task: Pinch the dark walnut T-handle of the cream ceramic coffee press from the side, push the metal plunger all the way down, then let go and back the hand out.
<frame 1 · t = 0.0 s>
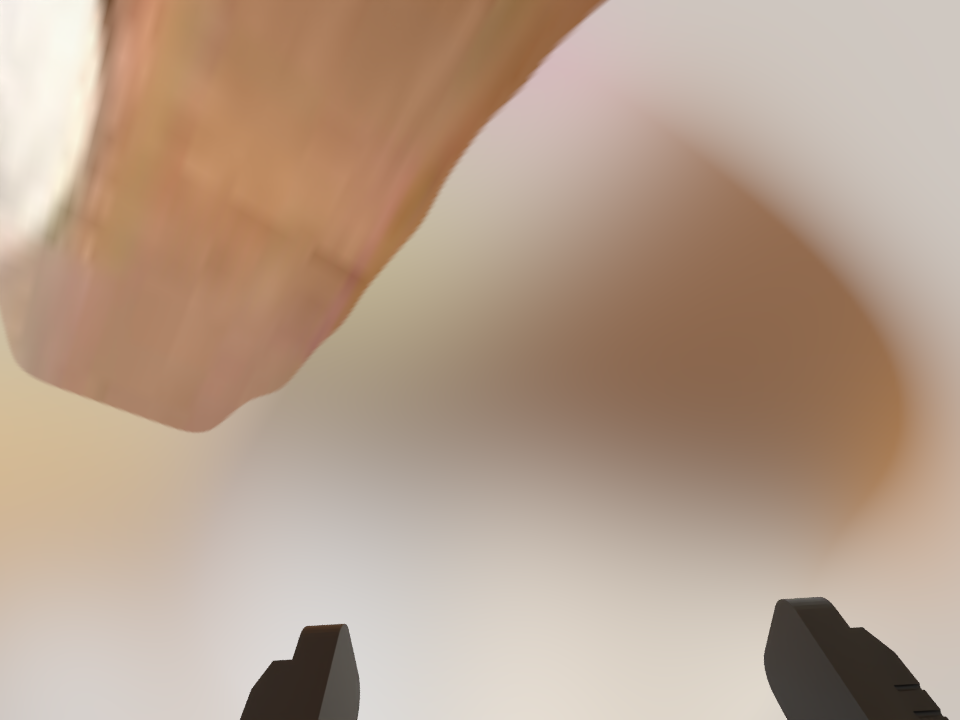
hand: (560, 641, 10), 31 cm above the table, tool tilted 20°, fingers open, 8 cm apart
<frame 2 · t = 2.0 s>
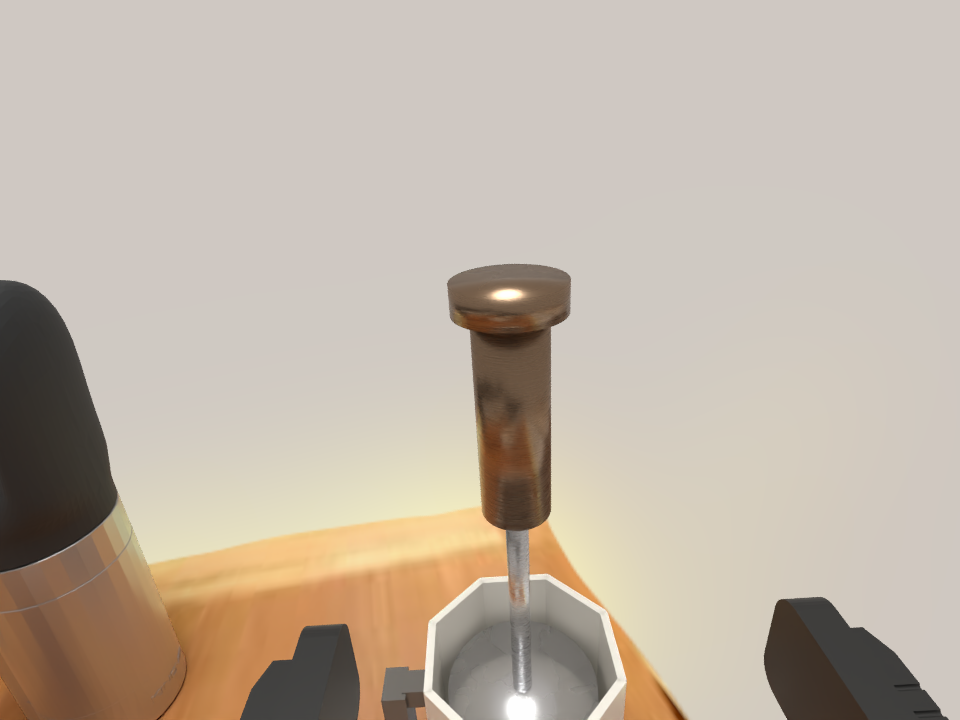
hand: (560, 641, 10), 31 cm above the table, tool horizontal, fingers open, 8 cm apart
plunger: (517, 526, 24), point 23 cm above the table, slide at 0.0 cm
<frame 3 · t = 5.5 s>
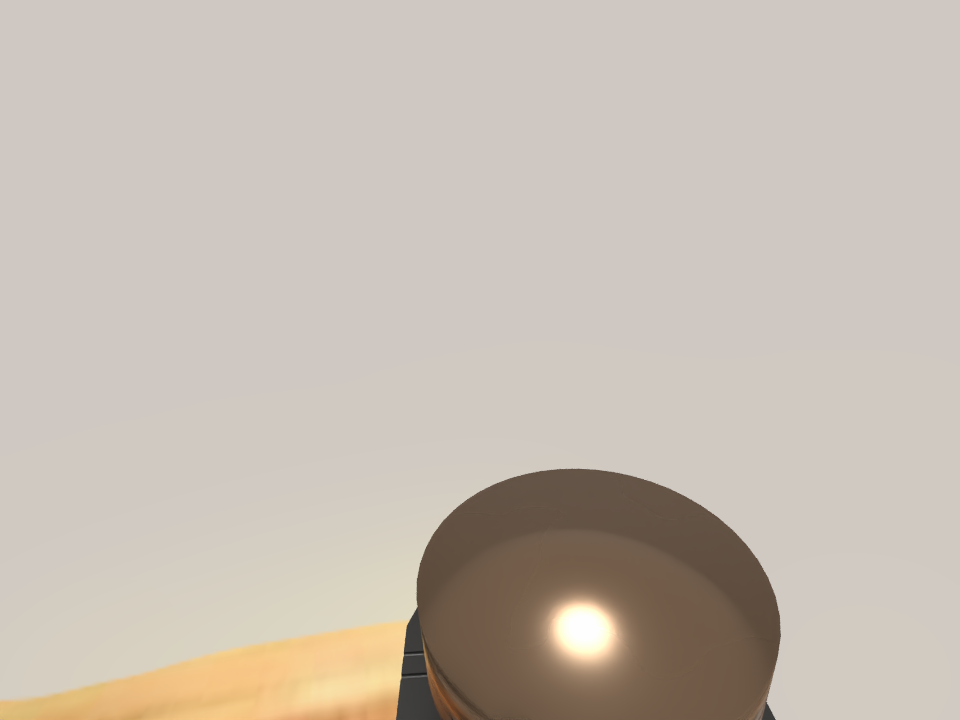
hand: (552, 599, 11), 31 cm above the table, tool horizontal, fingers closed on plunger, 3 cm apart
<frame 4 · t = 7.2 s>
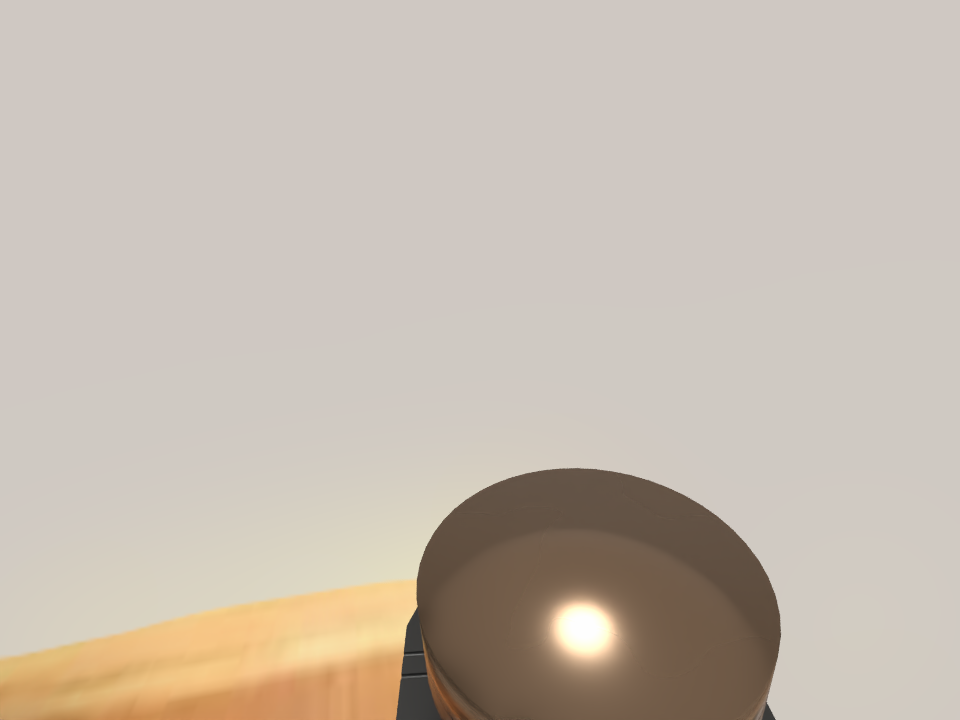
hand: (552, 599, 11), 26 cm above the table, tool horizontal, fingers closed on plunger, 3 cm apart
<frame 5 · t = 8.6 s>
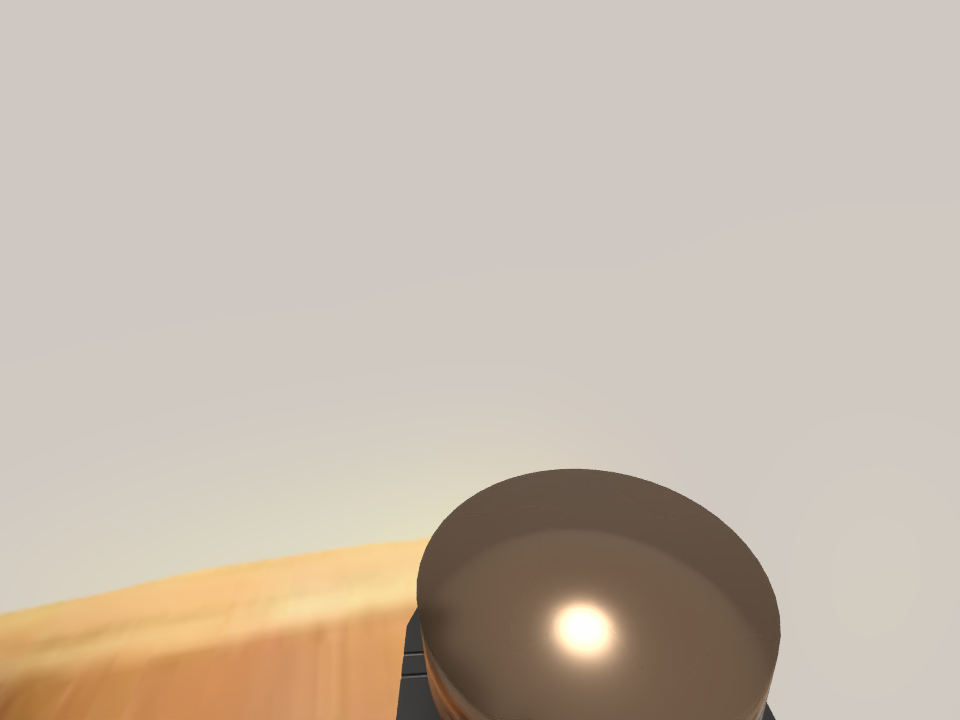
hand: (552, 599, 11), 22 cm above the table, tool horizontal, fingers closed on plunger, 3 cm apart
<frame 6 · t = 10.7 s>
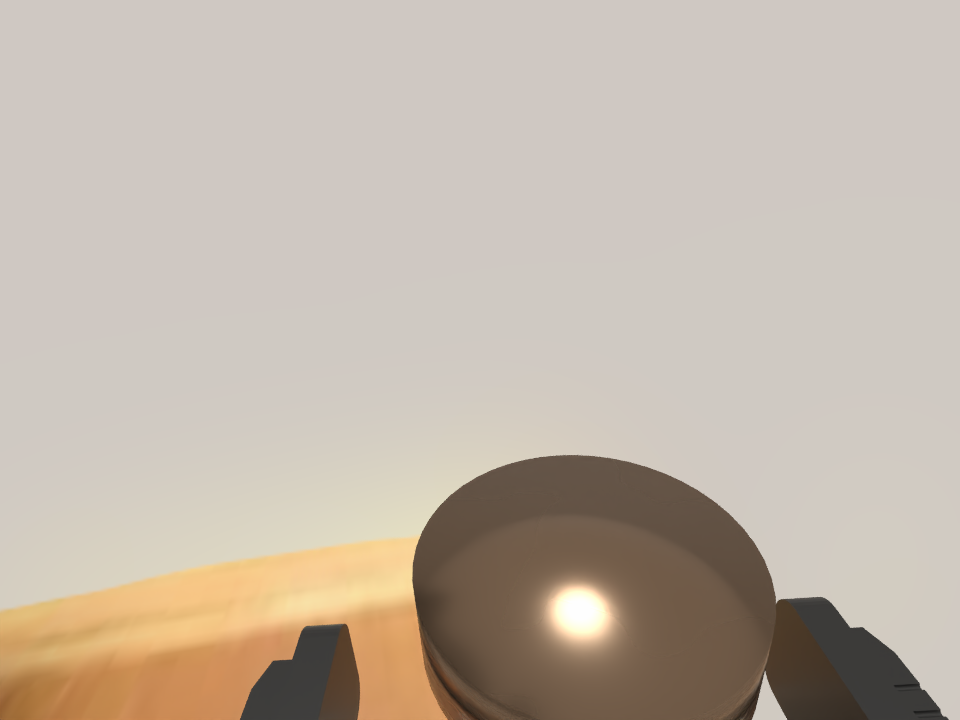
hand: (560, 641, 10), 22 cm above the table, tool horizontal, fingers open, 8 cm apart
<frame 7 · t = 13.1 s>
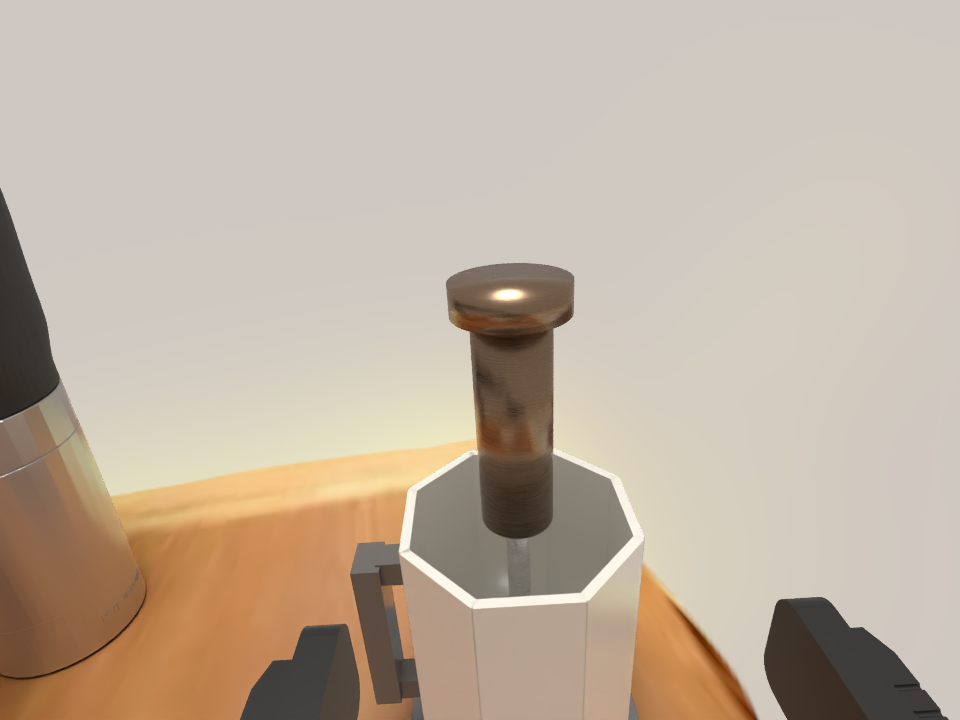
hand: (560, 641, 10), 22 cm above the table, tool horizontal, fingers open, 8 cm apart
plunger: (518, 533, 23), point 14 cm above the table, slide at 9.1 cm
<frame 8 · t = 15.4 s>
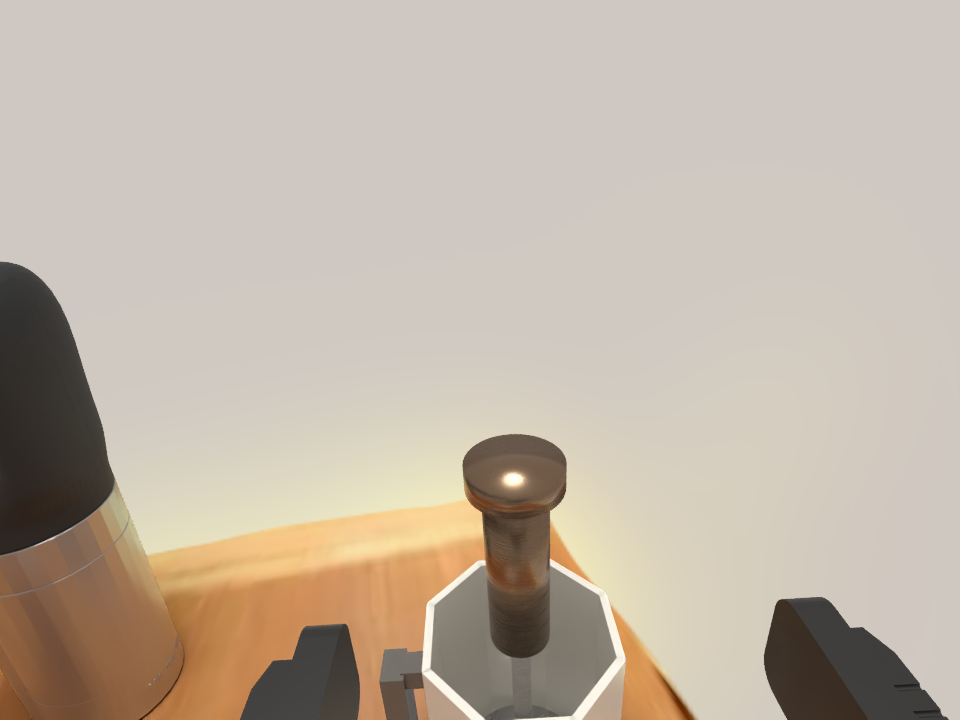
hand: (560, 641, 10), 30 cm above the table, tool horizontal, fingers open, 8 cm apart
plunger: (520, 646, 28), point 14 cm above the table, slide at 9.1 cm
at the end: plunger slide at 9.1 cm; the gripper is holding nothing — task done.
